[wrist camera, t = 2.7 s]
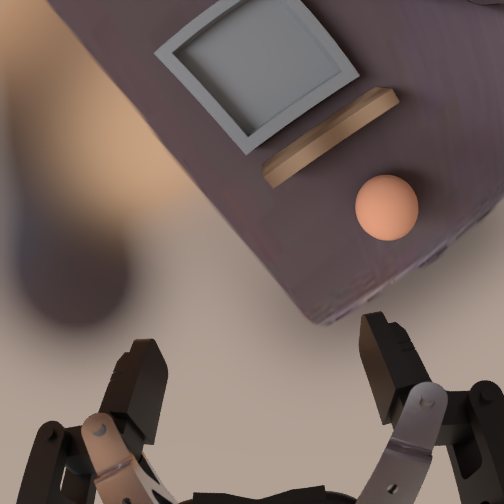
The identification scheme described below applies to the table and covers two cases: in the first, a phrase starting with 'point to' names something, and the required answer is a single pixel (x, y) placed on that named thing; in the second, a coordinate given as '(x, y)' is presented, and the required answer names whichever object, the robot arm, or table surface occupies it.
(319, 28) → the tray
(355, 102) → the wall
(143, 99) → the table surface
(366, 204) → the ball
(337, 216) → the table surface
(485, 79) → the table surface
